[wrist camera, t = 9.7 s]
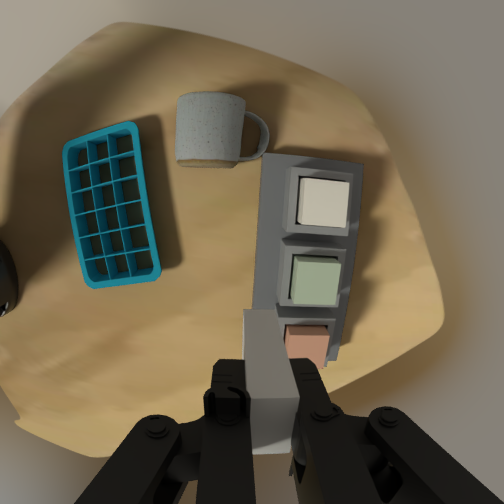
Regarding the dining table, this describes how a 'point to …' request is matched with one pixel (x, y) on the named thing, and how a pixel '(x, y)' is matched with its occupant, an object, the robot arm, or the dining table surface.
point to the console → (303, 241)
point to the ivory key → (322, 202)
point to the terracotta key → (307, 342)
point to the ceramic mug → (213, 130)
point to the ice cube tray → (79, 214)
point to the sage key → (314, 279)
